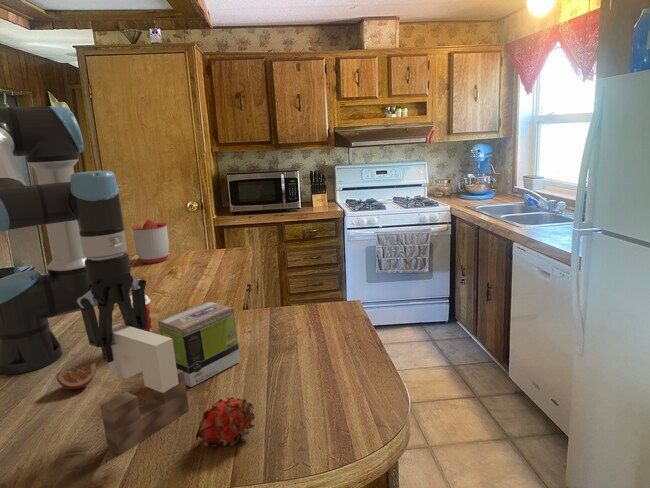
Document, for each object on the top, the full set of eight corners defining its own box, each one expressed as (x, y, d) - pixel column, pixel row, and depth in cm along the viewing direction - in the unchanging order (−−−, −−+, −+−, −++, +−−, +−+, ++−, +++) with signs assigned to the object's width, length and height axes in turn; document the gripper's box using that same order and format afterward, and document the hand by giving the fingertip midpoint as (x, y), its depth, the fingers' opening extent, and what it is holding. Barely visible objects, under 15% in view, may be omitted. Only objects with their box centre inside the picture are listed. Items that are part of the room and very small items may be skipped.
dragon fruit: (262, 433, 91) (205, 469, 85) (240, 397, 95) (184, 429, 89) (268, 416, 85) (207, 453, 79) (244, 378, 89) (184, 410, 83)
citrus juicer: (163, 254, 235) (157, 214, 231) (176, 260, 222) (171, 218, 217) (131, 260, 226) (124, 219, 221) (143, 267, 213) (137, 223, 208)
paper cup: (162, 343, 131) (155, 295, 128) (139, 354, 125) (131, 305, 122) (144, 338, 135) (137, 292, 132) (120, 349, 129) (112, 301, 125)
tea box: (216, 352, 124) (209, 299, 120) (241, 362, 117) (235, 307, 114) (165, 376, 112) (157, 319, 109) (190, 389, 106) (182, 328, 103)
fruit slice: (96, 375, 115) (93, 357, 114) (102, 386, 109) (98, 367, 108) (58, 387, 110) (54, 368, 109) (62, 399, 105) (57, 379, 104)
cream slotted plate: (178, 383, 86) (172, 338, 84) (163, 392, 84) (155, 346, 82) (126, 365, 95) (119, 323, 93) (110, 372, 92) (103, 329, 90)
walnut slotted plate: (119, 455, 85) (111, 410, 83) (108, 449, 87) (100, 405, 85) (188, 410, 98) (183, 371, 96) (177, 405, 100) (172, 367, 98)
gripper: (73, 268, 79) (96, 395, 84) (156, 246, 92) (172, 356, 97) (50, 264, 83) (74, 385, 88) (133, 243, 96) (149, 349, 101)
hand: (125, 370), depth 92 cm, fingers closed on cream slotted plate, 3 cm apart
